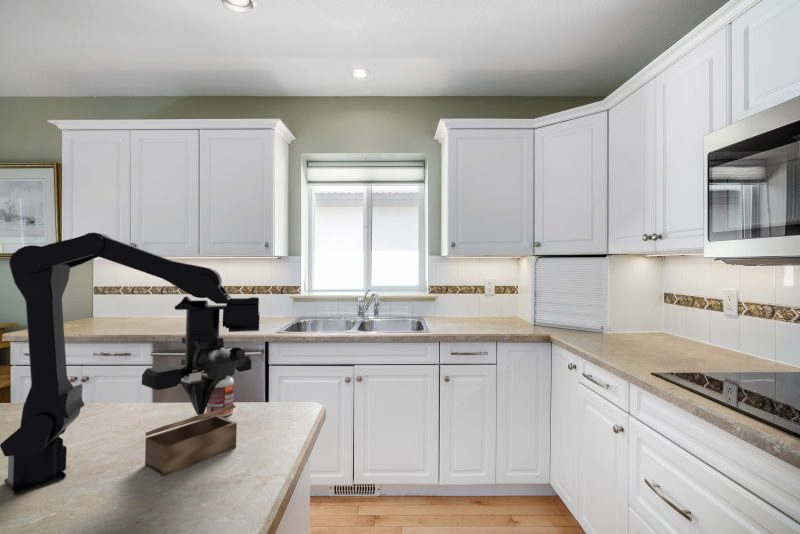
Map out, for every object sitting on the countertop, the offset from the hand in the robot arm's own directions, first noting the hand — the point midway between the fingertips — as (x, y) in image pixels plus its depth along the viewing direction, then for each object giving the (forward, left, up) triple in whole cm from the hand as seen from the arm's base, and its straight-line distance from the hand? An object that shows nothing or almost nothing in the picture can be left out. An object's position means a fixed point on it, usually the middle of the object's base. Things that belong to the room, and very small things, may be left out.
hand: (200, 414), depth 75 cm
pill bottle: (+16, +19, -9) cm, 26 cm away
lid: (0, +2, -2) cm, 3 cm away
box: (0, +2, -9) cm, 9 cm away
